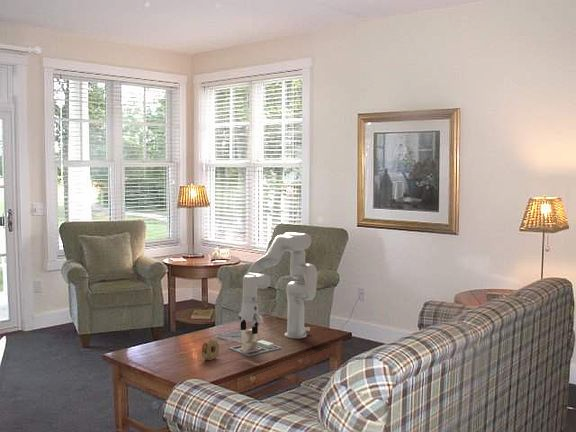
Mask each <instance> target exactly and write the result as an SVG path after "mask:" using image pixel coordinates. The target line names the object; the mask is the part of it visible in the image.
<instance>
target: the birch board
mask: <svg viewBox="0 0 576 432" xmlns="http://www.w3.org/2000/svg"><path fill="white" fill-rule="evenodd" d="M257 335H258V333H257V334H252V328H249V329H247V328H246V330H242V343H241V345H242V346H241V347H240V348H241V351H242V352H245V351H249V350H254V349H258V348H257V341H258V339H257Z"/></svg>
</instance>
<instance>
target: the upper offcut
mask: <svg viewBox="0 0 576 432" xmlns="http://www.w3.org/2000/svg"><path fill="white" fill-rule="evenodd" d="M257 345H258V346H260V347H263V348H266V349H268V350H270V349H269V348H272V349H274V348H273V347H274V345H275V344H274V343H273V342H271V341H267V340H262V339H261V341H260V340H257Z"/></svg>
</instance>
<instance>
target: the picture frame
mask: <svg viewBox="0 0 576 432" xmlns="http://www.w3.org/2000/svg"><path fill="white" fill-rule="evenodd" d="M216 337H217V338H218V339H221V340H224V341H227V342H231V341H234V342H237V343H239V344H242V330H241V329H235V330H231V331H227V332H220V333H219V332H218V333H216ZM259 339H261V340H262V339H264V337H263V336H262V335H258V334H257V340H259Z"/></svg>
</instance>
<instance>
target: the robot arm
mask: <svg viewBox="0 0 576 432" xmlns="http://www.w3.org/2000/svg"><path fill="white" fill-rule="evenodd" d="M274 237H275V238H274V239H273V241H272V243H271V244H270V245H269V247H268V249H267V251H266V253H265V254H264V255H262V257H260V258H258V259H257V260H256V261H254V262H252V264H251V265H250V266H249V268H248V270H247V271H246V273H245V275H244V276H243V277H242V300H241V308H240V312H238V316H239V317H238V319H239V322H240V330H247V322H249V323H251V325H252V326H251V329H252V334H257V335H258V332H259V330H258V328H259V327H258V326H259V325H260V324H261V318H260V311H259V310H260V309H259V303H258V289H267V288H268V287H269V286H270V285H271V282H272V279H271V277H270V276H269V274H266V273H261V271H263V270H265V269H268V268H270V267H275V266H276V265H278V264H279V263H280V261H281V260H282V258H283V256H284V254H285V252H289V253H290V264H289V275H290V277H291V278H293V279H296V280H291V281H290V282H288V283H287V285H286V287H285V291H286V292H285V293H286V298H287V299H286V300H287V321H286V323H287V325H286V330H287V331H286V332H285V333H284V337H285V338H288V339H295V340H297V339H304V338H307V336H308V335H307V333H306V332H309V331H310V330H311V327H308V326H307V327H305V303H304V300H305V301H312V300H313V299H314V298H315V297H316V295H317V294H316V293H317V285H318V284H317V283H318V270H317V268H316V265H315V264H312V263H307V262H306V251H305V250H307V249H308V248H310V246H311V244H312V237H311V235H309V234H308V233H304V232H295V231H287V232H284V233H283V234H278V235H277V236H274ZM298 280H302V281H298Z"/></svg>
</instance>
